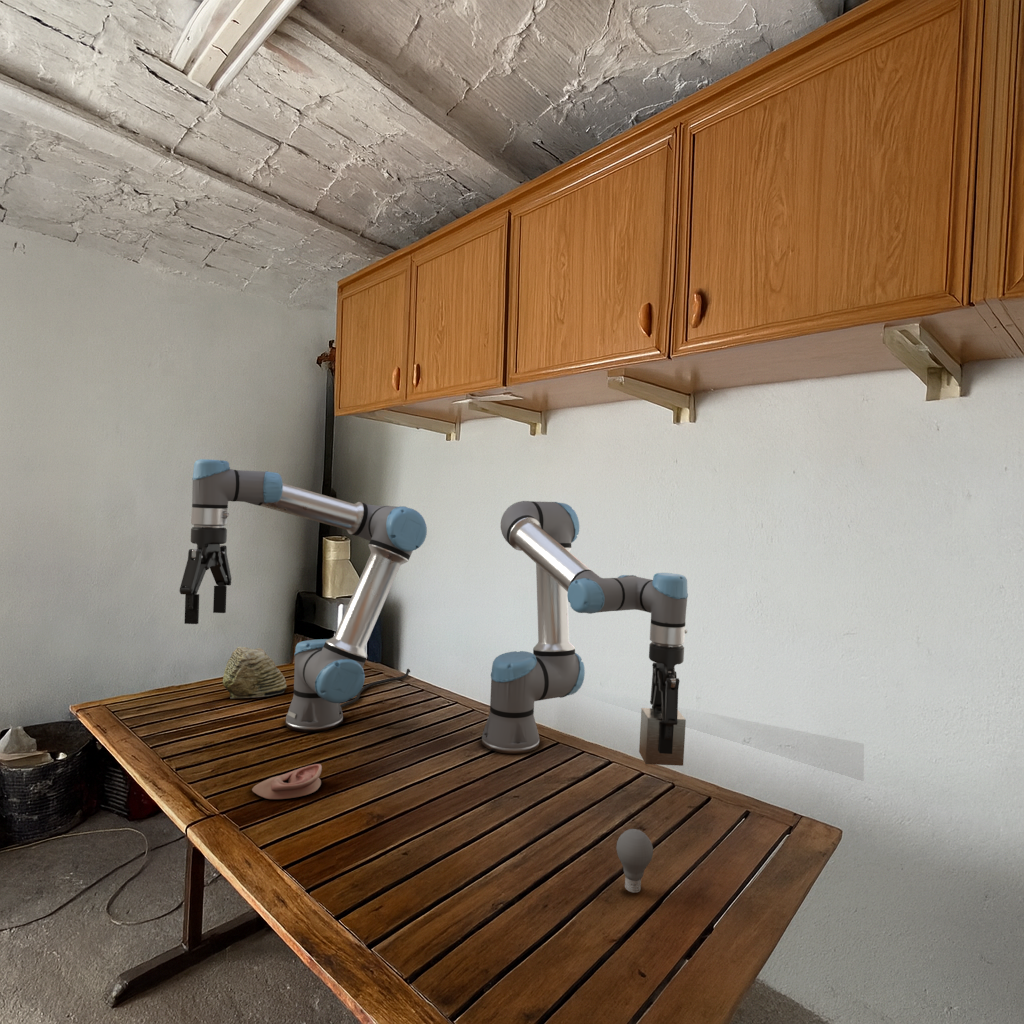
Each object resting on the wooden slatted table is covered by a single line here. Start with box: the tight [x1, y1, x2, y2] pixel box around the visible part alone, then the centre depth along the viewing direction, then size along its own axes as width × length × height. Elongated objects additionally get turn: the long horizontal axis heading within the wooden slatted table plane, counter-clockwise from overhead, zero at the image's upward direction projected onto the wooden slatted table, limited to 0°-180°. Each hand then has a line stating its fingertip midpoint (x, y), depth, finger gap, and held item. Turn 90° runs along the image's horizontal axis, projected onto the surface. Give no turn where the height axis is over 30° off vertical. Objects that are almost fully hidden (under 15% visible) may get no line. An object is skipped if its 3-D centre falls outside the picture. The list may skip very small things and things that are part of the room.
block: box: [638, 707, 687, 767], centre depth 141 cm, size 8×6×10 cm
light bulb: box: [615, 828, 654, 894], centre depth 106 cm, size 6×6×10 cm
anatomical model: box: [251, 763, 323, 800], centre depth 137 cm, size 13×4×12 cm
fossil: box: [222, 646, 288, 699], centre depth 198 cm, size 9×18×15 cm, turn 132°
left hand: (206, 618), depth 147 cm, fingers open, 13 cm apart
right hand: (661, 746), depth 141 cm, fingers closed on block, 6 cm apart
